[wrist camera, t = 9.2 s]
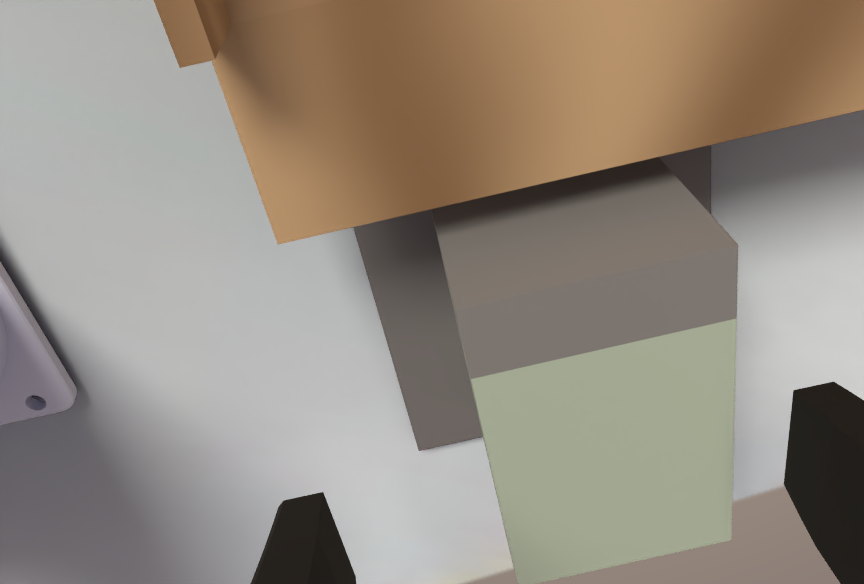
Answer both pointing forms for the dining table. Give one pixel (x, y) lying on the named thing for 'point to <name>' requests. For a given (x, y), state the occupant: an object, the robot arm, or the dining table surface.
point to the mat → (447, 312)
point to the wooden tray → (500, 90)
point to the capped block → (599, 364)
